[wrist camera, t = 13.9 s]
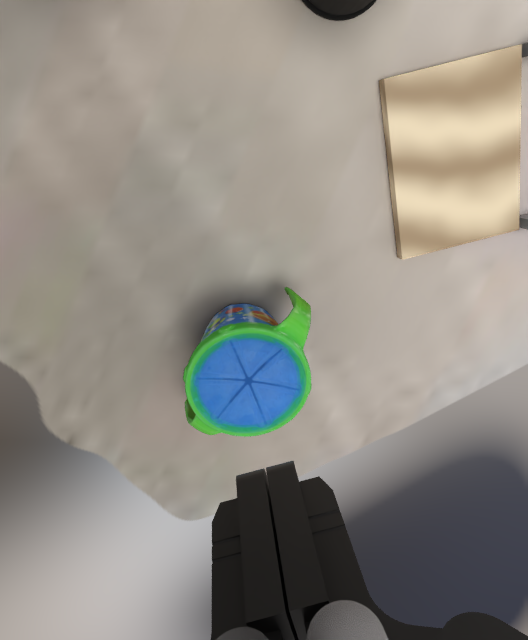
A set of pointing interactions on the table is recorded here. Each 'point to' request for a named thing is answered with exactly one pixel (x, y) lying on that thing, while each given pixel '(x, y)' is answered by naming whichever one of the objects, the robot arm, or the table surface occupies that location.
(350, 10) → the aerosol can
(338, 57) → the table surface
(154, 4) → the table surface
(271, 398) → the snack cup
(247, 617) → the robot arm
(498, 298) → the table surface
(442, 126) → the beige wooden board
